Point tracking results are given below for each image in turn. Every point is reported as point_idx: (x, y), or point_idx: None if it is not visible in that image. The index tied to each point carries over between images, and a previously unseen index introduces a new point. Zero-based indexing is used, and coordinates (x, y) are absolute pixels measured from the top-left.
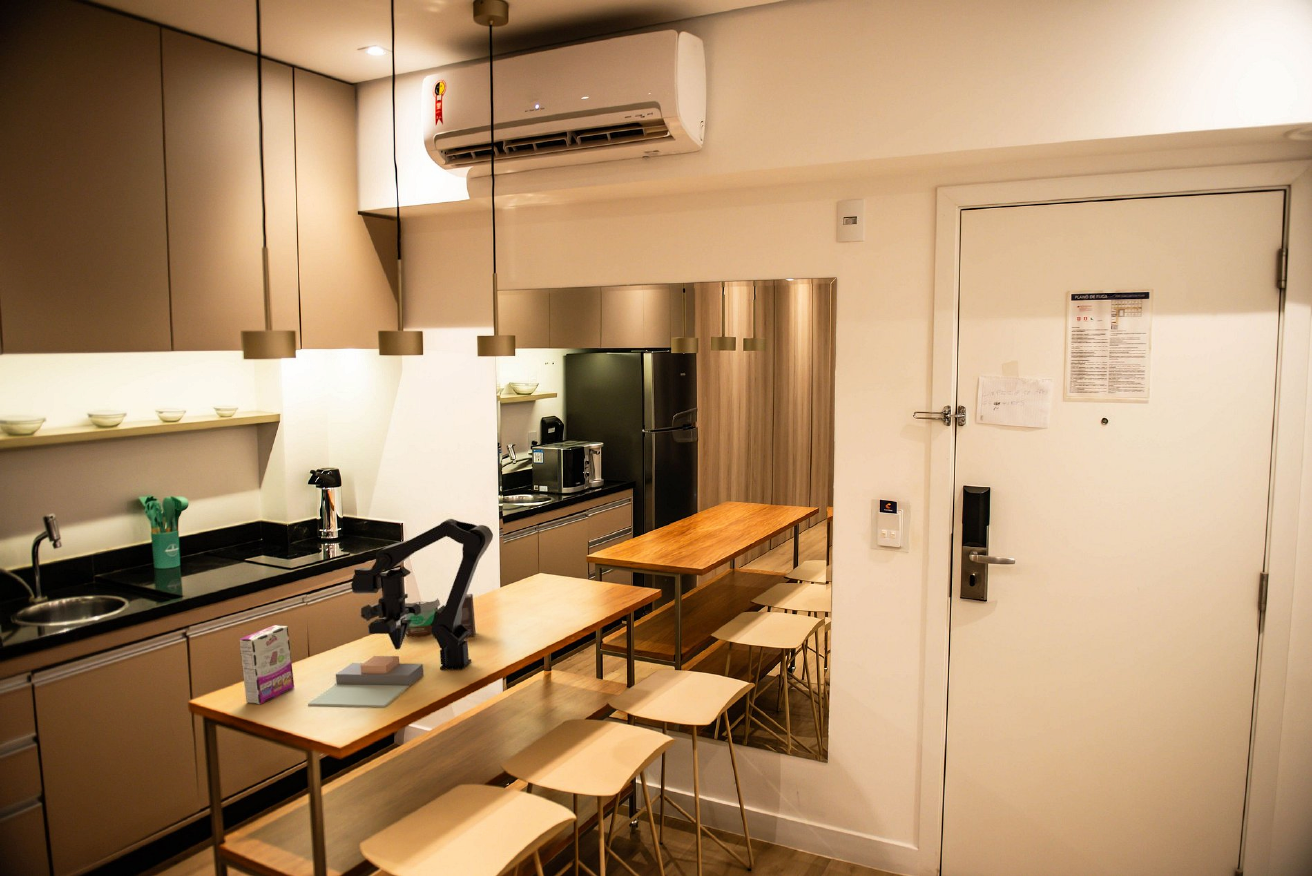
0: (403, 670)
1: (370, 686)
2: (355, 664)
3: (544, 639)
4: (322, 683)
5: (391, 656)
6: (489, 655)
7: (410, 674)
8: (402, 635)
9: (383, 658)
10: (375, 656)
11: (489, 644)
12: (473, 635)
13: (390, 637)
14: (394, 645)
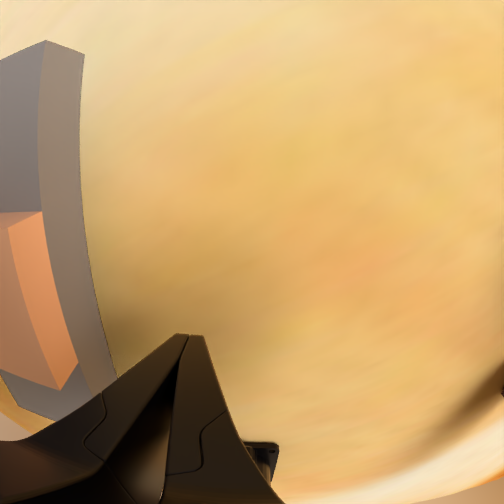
0: (33, 389)
1: None
2: (21, 84)
3: (396, 500)
4: (8, 13)
5: (39, 355)
6: (319, 486)
7: (30, 409)
8: (158, 487)
9: (3, 317)
10: (3, 244)
11: (415, 455)
12: (501, 394)
13: (85, 409)
14: (154, 358)
